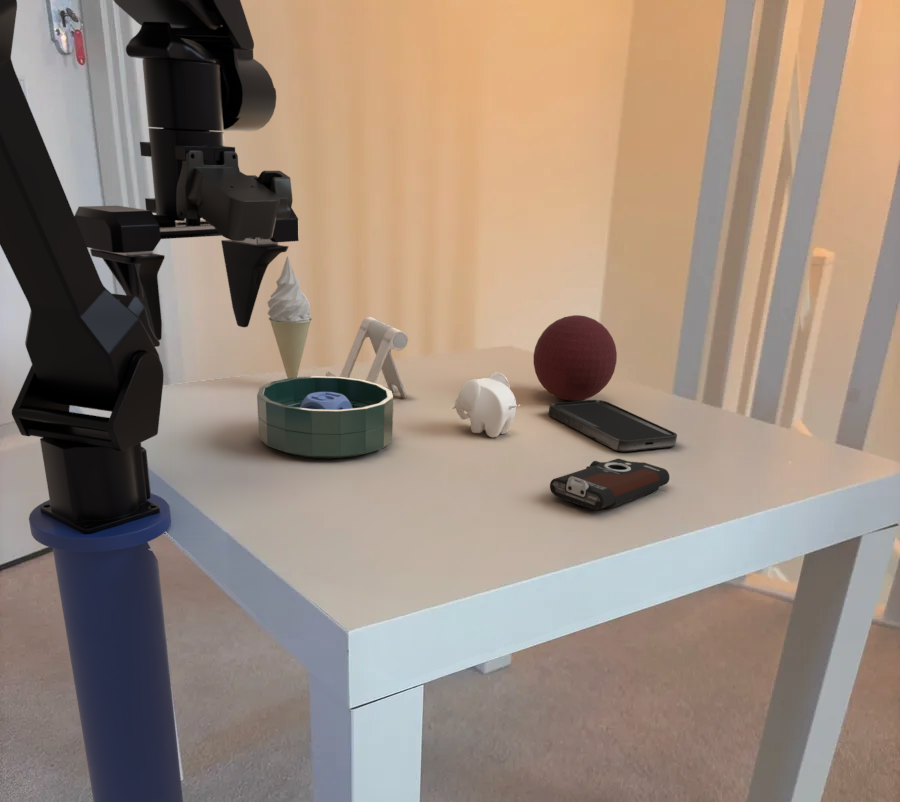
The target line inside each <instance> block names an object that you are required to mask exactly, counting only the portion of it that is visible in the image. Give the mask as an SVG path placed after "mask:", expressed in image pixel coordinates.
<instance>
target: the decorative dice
mask: <svg viewBox="0 0 900 802" xmlns="http://www.w3.org/2000/svg"><path fill="white" fill-rule="evenodd" d="M300 408H306V409H323V410H342V409H353V408H352V405H351V403H350V402H349V400H348V399H347V398H346V397H345V396H344V395H342V394H339V393H334V392H315V393H311V394H309V395H307V396H306V397H305V399H304V400H303V402H302V404H301V406H300Z"/></svg>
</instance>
